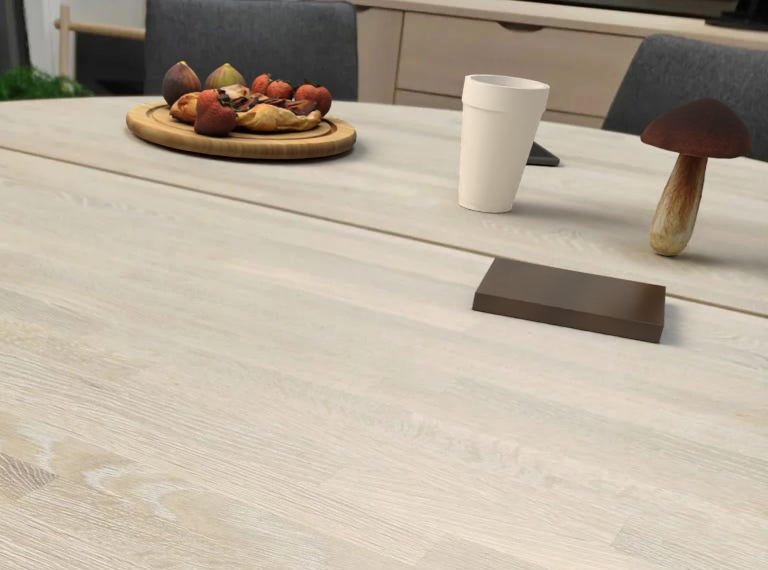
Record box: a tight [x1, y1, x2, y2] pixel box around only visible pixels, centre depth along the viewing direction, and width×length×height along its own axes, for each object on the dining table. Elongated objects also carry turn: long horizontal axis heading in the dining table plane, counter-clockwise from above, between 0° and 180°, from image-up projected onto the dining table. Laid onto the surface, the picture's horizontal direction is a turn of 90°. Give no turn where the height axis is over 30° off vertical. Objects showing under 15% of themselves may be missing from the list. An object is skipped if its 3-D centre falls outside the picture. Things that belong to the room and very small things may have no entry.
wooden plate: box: [125, 60, 358, 160], centre depth 136 cm, size 32×32×8 cm
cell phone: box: [526, 140, 561, 166], centre depth 145 cm, size 7×14×1 cm, turn 6°
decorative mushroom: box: [639, 97, 754, 257], centre depth 102 cm, size 11×11×15 cm
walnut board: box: [471, 257, 667, 344], centre depth 89 cm, size 16×12×2 cm
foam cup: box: [457, 74, 551, 214], centre depth 114 cm, size 10×9×13 cm
